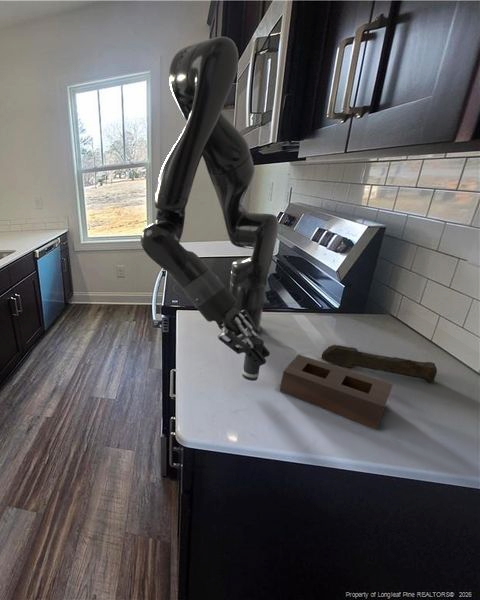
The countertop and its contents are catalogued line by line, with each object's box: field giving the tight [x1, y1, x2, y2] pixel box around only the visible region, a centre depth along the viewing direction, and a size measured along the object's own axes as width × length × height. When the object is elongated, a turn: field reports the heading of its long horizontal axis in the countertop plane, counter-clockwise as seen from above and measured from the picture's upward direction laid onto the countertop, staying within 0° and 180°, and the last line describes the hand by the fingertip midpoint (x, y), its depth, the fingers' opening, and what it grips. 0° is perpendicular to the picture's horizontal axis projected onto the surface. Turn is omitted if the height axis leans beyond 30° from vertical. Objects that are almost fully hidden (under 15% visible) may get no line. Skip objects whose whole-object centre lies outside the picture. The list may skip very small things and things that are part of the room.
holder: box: [279, 354, 394, 430], centre depth 63 cm, size 9×16×5 cm, turn 41°
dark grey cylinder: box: [241, 337, 265, 382], centre depth 67 cm, size 3×3×9 cm
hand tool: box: [320, 344, 438, 384], centre depth 71 cm, size 19×4×5 cm, turn 58°
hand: (263, 359), depth 66 cm, fingers closed on dark grey cylinder, 3 cm apart
